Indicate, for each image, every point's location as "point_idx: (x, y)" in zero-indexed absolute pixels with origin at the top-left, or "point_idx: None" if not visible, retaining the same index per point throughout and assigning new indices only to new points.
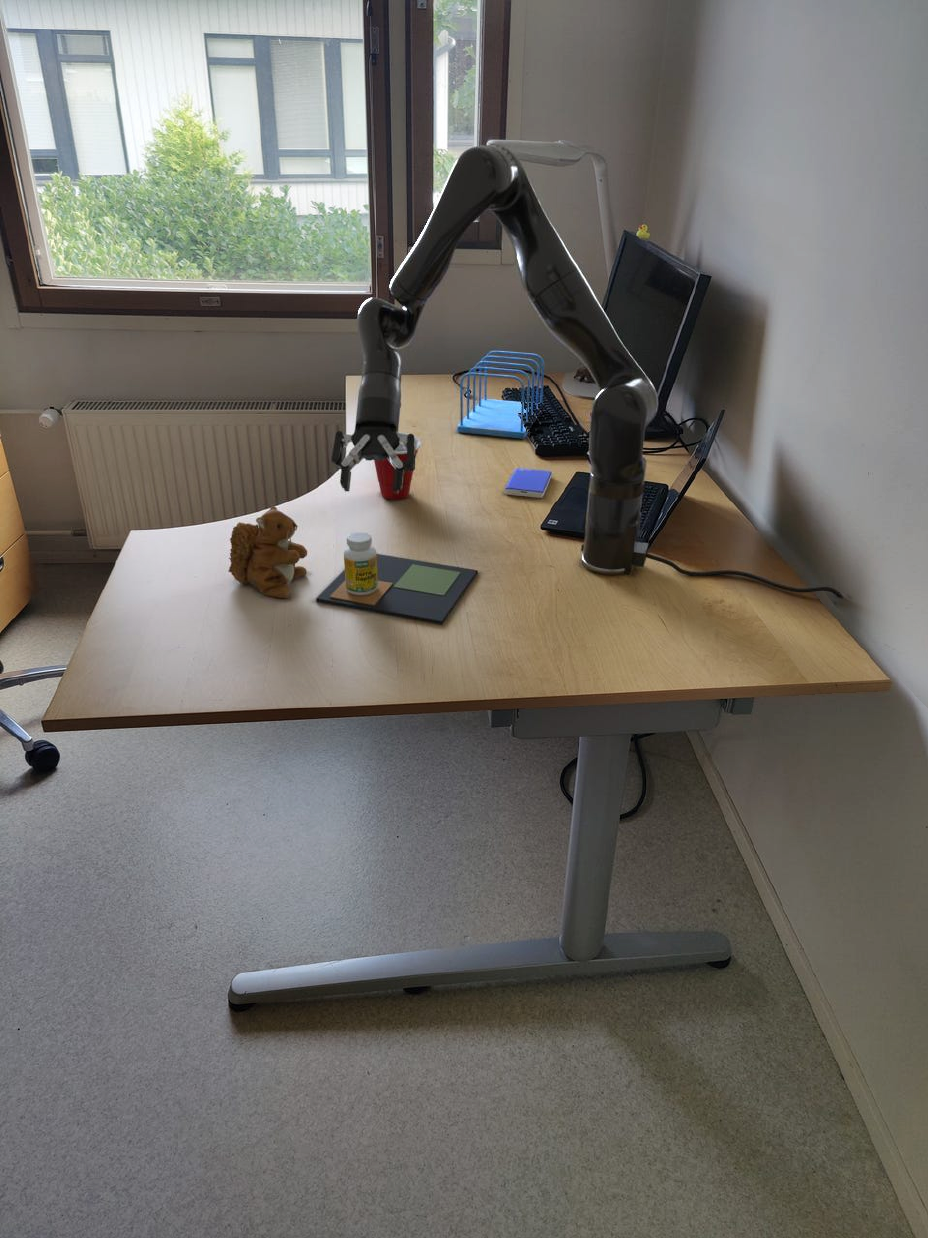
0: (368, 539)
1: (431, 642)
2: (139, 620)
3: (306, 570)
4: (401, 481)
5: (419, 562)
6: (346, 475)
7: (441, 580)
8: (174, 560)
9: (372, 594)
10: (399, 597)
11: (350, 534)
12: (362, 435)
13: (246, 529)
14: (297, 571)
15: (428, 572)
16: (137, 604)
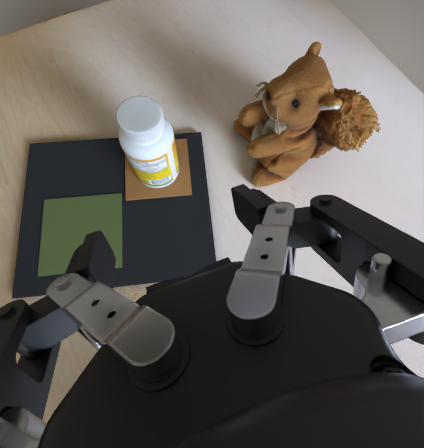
0: (117, 111)
1: (35, 111)
2: (335, 46)
3: (253, 182)
4: (73, 257)
5: (114, 280)
6: (250, 196)
7: (60, 237)
8: (420, 151)
9: None
10: (102, 172)
11: (159, 116)
12: (302, 330)
13: (342, 93)
14: (257, 167)
15: None
16: (363, 66)
